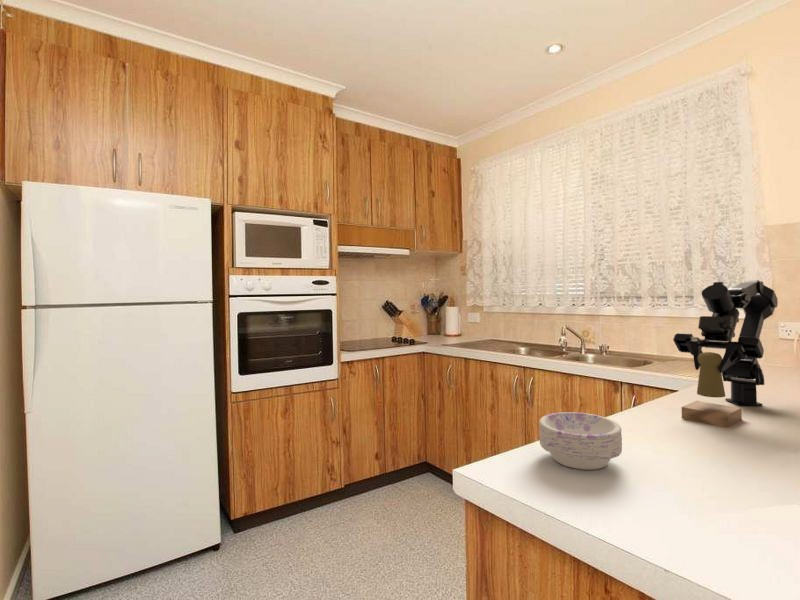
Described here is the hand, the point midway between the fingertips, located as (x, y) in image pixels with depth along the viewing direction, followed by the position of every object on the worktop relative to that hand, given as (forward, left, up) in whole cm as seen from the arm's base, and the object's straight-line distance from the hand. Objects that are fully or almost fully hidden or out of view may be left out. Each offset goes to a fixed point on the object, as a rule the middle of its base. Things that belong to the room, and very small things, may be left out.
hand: (708, 370), depth 108 cm
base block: (-1, +1, -13) cm, 13 cm away
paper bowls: (+31, -39, -13) cm, 52 cm away
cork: (-1, +1, -7) cm, 7 cm away
